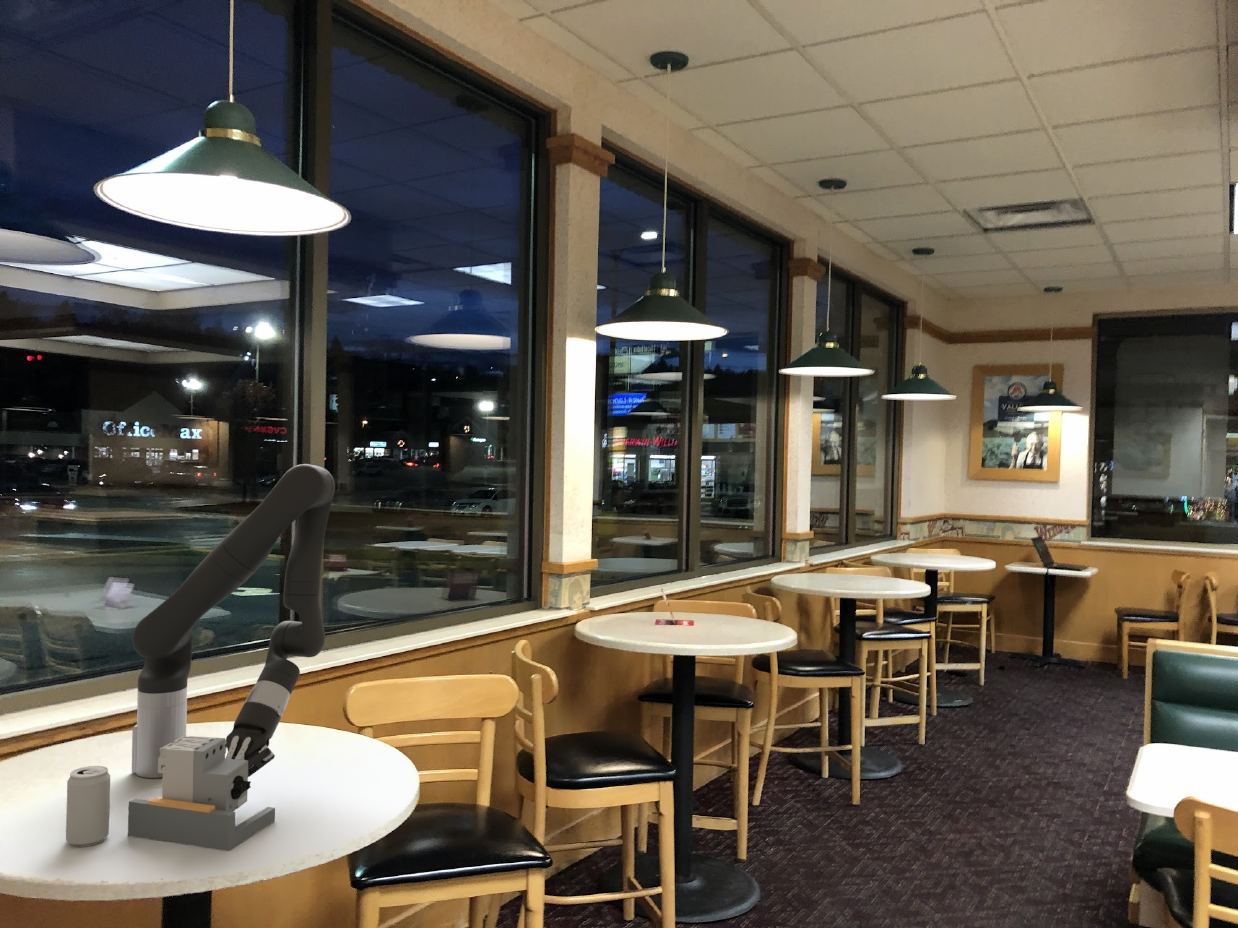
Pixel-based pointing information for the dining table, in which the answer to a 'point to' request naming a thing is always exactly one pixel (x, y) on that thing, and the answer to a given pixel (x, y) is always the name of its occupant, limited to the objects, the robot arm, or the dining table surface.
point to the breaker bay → (192, 823)
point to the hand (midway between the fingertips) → (221, 795)
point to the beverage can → (88, 806)
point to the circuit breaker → (203, 773)
